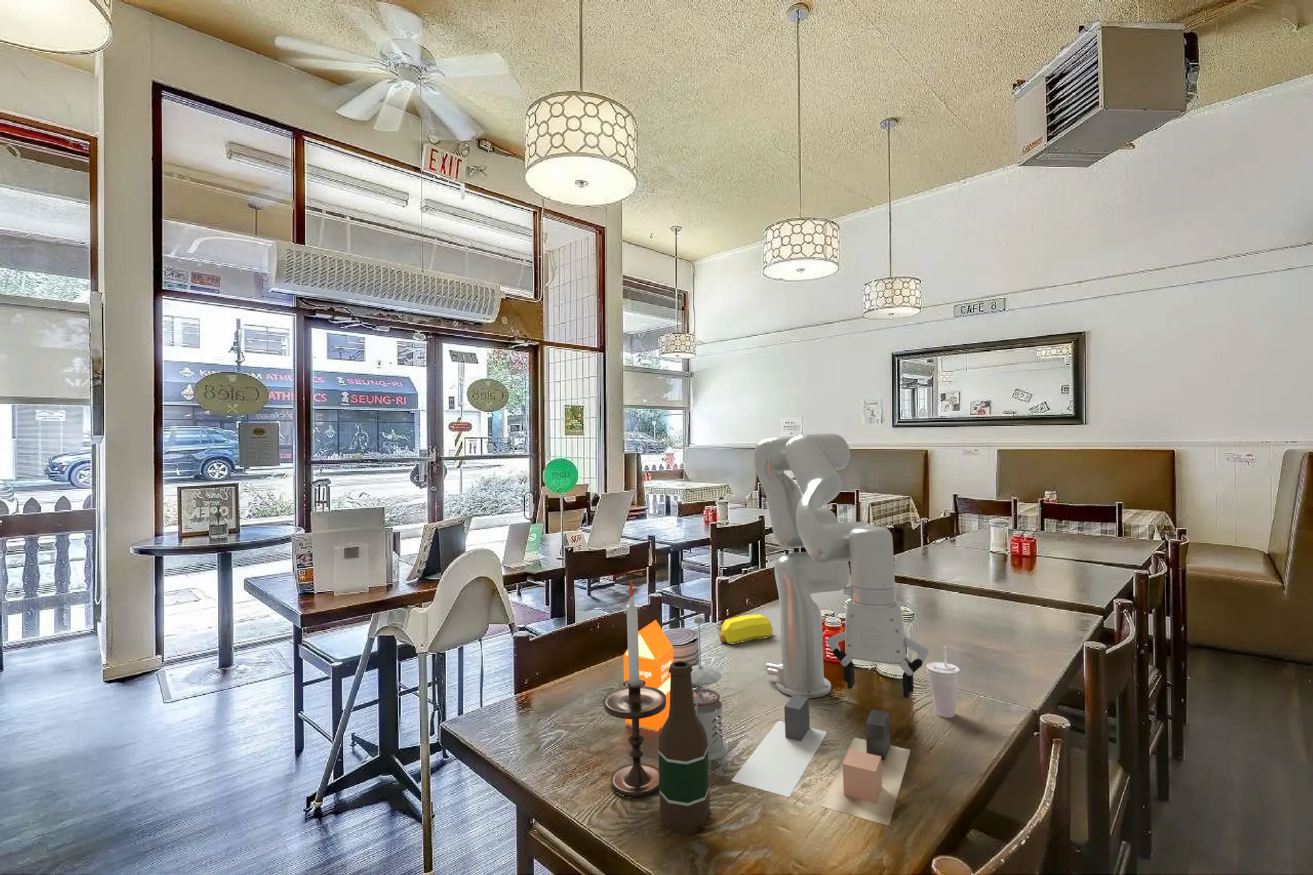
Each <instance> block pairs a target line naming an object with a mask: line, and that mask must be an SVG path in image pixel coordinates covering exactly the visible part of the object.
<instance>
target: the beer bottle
mask: <svg viewBox="0 0 1313 875" xmlns="http://www.w3.org/2000/svg"><path fill="white" fill-rule="evenodd" d="M692 670H693V669H692V666H691V664H690V663H688V662H685V661H677V662H673V663H672V664H671V665H670V667H669V671H668V672H670V673H671V677H670V708H669V715H668V718H667V720H666V722H665V724H664V725H663V727H662V729H661V730H660V731H659V736H658V745H657V746H658V747H657V749H658V750H657V755H658V768H659V791H658V792H659V811H660V820H661V822H662V823H663V825H664V826H665V828H667V829H668V830H669V832H670V833H674V834H682V835H684V836H685V835H686V836H690V835H692V834H696V833H698V832H701V831H703V830H706V829H705V827H702V826H699V825H701V824H703V823H706V821H707V819H708V816H709V812H710V809H711V807H710V806H711V802H710V801H711V800H710V799H711V798H710V774H709V772H710V771H709V770H710V767H709V760H708V743H707V734H706V732H705V729H704V727H703V724H702V723H701V722H700V720H699V719H698V717H697V716H696V713H695V710H696V707H694V701H693V691H692V680H691V672H692Z"/></svg>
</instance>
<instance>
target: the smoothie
mask: <svg viewBox="0 0 1313 875" xmlns="http://www.w3.org/2000/svg"><path fill="white" fill-rule="evenodd" d="M947 652H948V651H947V646H945V645H944V646H943V661H933V662H929V663H927V664H926V669H925V670H926V672H927V673H928V679H929V684H930V691H931V697H932V702H933V708H934V713H935V715H936V716H937V717H942V718H947V719H949V718H953V717H955V715H956V705H957V693H958V686H959V676H961V670H960V668H959V667H958V666H957V665H955V664H952V663H949V662H948V657H947V656H948V655H947V654H948V653H947Z"/></svg>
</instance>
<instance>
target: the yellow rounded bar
mask: <svg viewBox="0 0 1313 875" xmlns="http://www.w3.org/2000/svg"><path fill="white" fill-rule="evenodd" d="M720 627H721V628H720V633H719V640H720V641H721V642H722V641H725V642H724V643H727V644H729V643H737V642H741V641H746V642H748V641H747V640H749V641H752V640H751V639H757V640H760V639H759V638H764V637H769V638H770V636H771V637H772V636H773V634H774V633H773V626H772V622H771V621H770V620H769V618H768V617H767V616H763V615H762V614H760V613H758V614H744V615H739V616H735V617H732V618H728V619H725V620H724V622H723V623H722V625H721V626H720ZM726 641H727V642H726Z"/></svg>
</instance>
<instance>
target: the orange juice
mask: <svg viewBox="0 0 1313 875" xmlns="http://www.w3.org/2000/svg"><path fill="white" fill-rule="evenodd" d="M663 631H664V630H663V628H662V627H661V626H660V624H659V623H658V621H657V619H655V620H653V621H651V622H650V623H649V624H647V625H645V626H644V627H643V628H641V629H640V630H638V644H639V676H640V679H641V680H644V681H645V682H646V684H645V685H644V686H648V687H653V688H656V689H659V690H661V691H662V692H663V693H664V694H665V695H666V707H665V708H664V710H663V711H661V712H660V713H658V714H656V715H654V716H651V717H647V718H642V719H639V726H641V727H646V728H649V729H655V730H656V731H659V729H660V728H661V727H662V726H663V725H664V724H665V722H666V720H667V718H668V715H669V708H670V677H671V673H670V672H668V671H669V667H670V665H671V664H672V663H673V646H672V645H671V644H670V642H669V640H668V639H667V637H666V635H665V634H664V632H663ZM623 679H624V680H623V681H624V682H625V681H627V680H629V669H628V648H627V649H626V650H625V652H624V654H623ZM624 682H623V683H624ZM626 723H629V724H632V719H625V724H626ZM659 732H660V731H659Z"/></svg>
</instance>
